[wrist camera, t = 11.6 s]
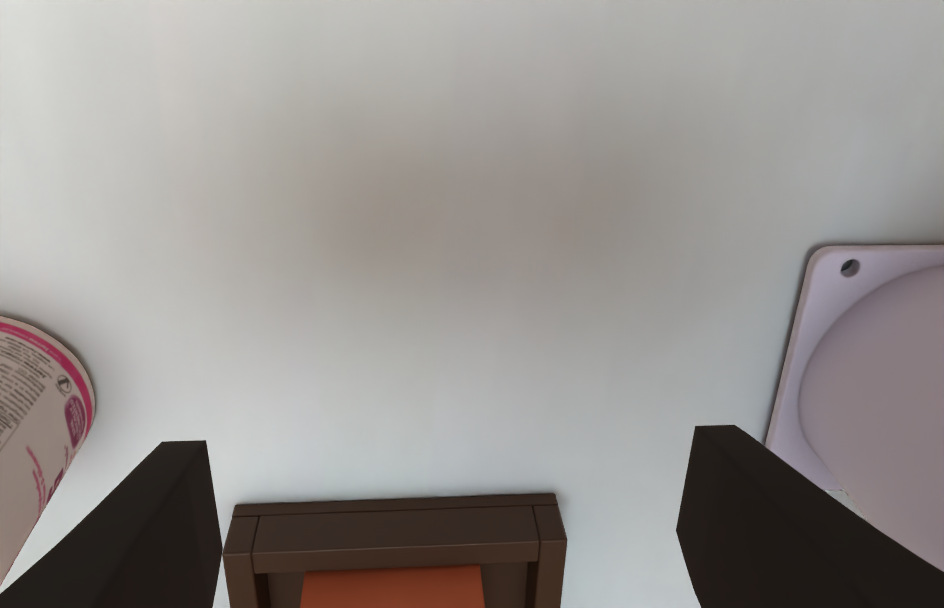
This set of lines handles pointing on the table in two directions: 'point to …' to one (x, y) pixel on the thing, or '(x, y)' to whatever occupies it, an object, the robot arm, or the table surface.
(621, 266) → the table surface
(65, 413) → the pill bottle
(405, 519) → the dark brown tray
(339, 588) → the pad
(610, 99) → the table surface
